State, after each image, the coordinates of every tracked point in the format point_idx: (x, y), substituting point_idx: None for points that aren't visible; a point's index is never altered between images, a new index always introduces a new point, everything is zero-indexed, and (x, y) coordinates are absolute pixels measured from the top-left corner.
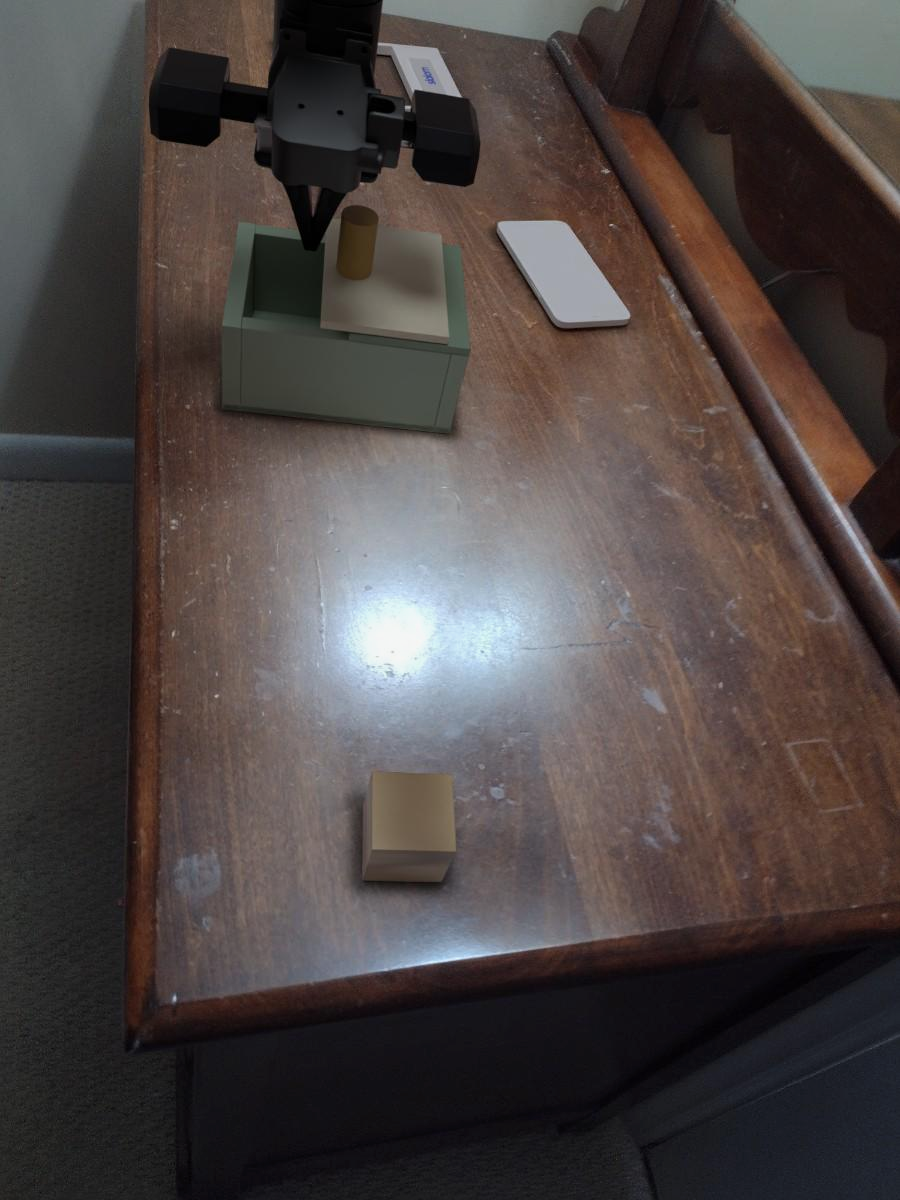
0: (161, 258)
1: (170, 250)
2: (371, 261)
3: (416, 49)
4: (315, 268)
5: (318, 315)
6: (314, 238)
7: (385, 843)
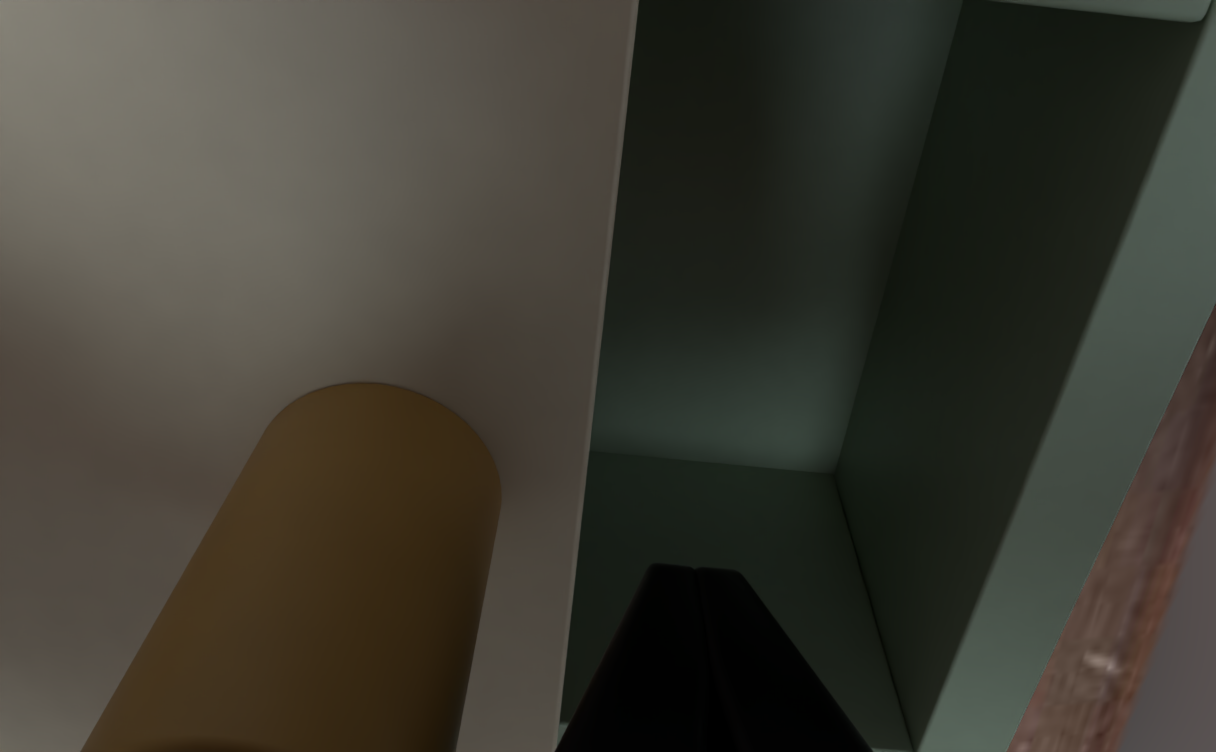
0: (1095, 693)
1: (1055, 727)
2: (222, 505)
3: None
4: (599, 612)
5: None
6: (679, 637)
7: None
